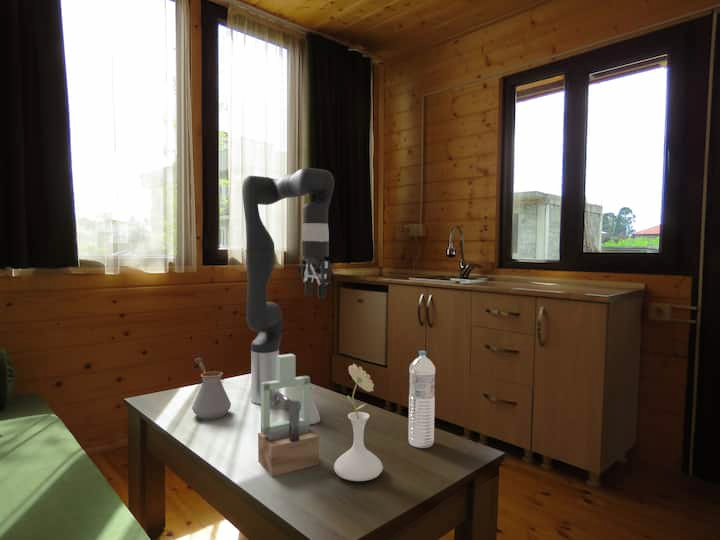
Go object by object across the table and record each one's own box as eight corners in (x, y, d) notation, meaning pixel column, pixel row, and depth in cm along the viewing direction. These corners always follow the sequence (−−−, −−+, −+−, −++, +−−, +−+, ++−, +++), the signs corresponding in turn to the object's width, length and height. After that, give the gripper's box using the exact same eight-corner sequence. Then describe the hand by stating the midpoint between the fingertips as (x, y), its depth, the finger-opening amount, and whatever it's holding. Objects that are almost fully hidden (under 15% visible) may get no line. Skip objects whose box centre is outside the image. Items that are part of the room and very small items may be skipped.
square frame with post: (258, 433, 114) (258, 356, 113) (303, 424, 120) (304, 350, 119) (265, 441, 109) (265, 360, 108) (312, 430, 116) (312, 354, 115)
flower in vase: (389, 482, 105) (391, 372, 103) (340, 489, 101) (341, 376, 100) (371, 457, 117) (372, 358, 116) (327, 462, 114) (327, 361, 112)
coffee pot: (236, 417, 143) (236, 368, 142) (197, 424, 137) (197, 374, 136) (215, 397, 161) (215, 354, 160) (180, 403, 154) (180, 359, 154)
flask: (316, 426, 137) (317, 392, 136) (293, 424, 138) (293, 390, 138) (323, 417, 144) (323, 385, 143) (300, 415, 145) (301, 383, 145)
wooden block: (258, 461, 114) (258, 432, 114) (303, 450, 121) (303, 423, 120) (271, 476, 107) (271, 446, 106) (318, 464, 113) (318, 436, 112)
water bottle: (418, 436, 130) (420, 347, 129) (439, 443, 125) (440, 351, 124) (403, 443, 125) (404, 351, 124) (423, 451, 121) (425, 355, 119)
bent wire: (260, 414, 126) (260, 381, 126) (269, 412, 128) (269, 380, 127) (291, 442, 109) (291, 404, 108) (301, 440, 110) (301, 402, 109)
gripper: (293, 239, 137) (292, 295, 138) (314, 239, 125) (314, 300, 125) (316, 240, 141) (316, 293, 141) (339, 240, 128) (338, 298, 129)
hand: (315, 296), depth 133 cm, fingers open, 8 cm apart
